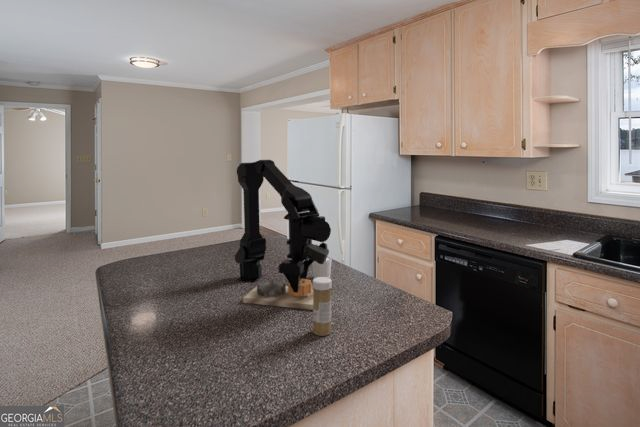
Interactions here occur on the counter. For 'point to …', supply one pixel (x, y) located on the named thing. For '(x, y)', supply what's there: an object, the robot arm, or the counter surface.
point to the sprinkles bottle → (322, 305)
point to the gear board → (278, 296)
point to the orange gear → (301, 288)
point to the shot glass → (322, 268)
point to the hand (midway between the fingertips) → (299, 287)
